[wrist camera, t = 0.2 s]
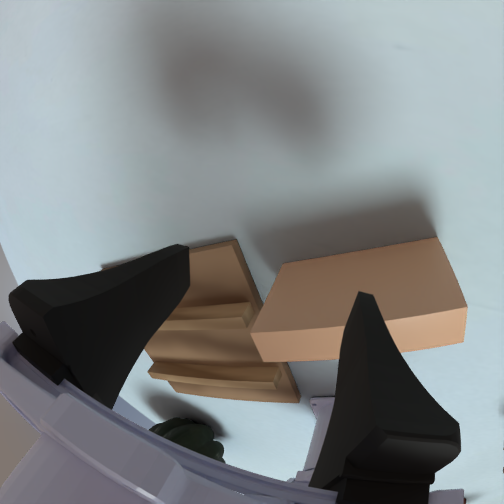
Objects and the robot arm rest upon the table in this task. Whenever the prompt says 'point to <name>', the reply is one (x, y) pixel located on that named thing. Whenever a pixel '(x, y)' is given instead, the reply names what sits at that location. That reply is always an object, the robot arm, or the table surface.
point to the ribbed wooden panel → (218, 334)
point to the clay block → (344, 294)
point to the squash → (191, 437)
